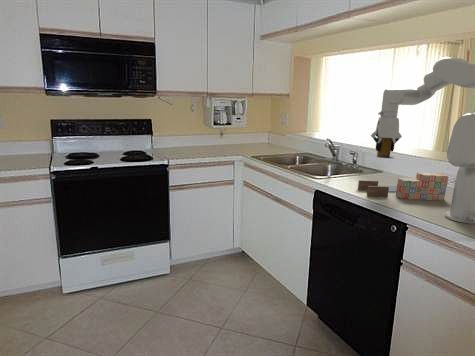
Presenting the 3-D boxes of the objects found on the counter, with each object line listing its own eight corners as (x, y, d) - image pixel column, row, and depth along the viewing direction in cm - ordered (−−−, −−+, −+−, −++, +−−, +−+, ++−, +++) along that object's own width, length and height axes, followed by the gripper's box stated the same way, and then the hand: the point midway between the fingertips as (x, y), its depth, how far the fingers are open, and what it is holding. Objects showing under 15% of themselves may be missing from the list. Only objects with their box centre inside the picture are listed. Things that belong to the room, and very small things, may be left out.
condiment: (376, 155, 184) (379, 132, 181) (393, 156, 181) (397, 133, 179) (376, 157, 178) (379, 133, 175) (394, 159, 175) (397, 134, 172)
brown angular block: (387, 196, 174) (388, 187, 173) (367, 196, 174) (368, 186, 173) (376, 189, 187) (377, 180, 186) (357, 189, 187) (358, 180, 186)
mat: (408, 192, 184) (408, 191, 184) (385, 192, 183) (385, 191, 183) (397, 186, 196) (397, 185, 195) (375, 186, 195) (375, 185, 195)
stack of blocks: (401, 199, 171) (405, 174, 168) (395, 195, 177) (398, 171, 174) (444, 200, 172) (448, 175, 170) (436, 196, 178) (440, 172, 176)
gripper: (375, 114, 171) (371, 151, 175) (409, 115, 172) (404, 152, 176) (368, 113, 178) (364, 149, 182) (401, 115, 179) (397, 150, 183)
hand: (384, 150), depth 179 cm, fingers closed on condiment, 6 cm apart
